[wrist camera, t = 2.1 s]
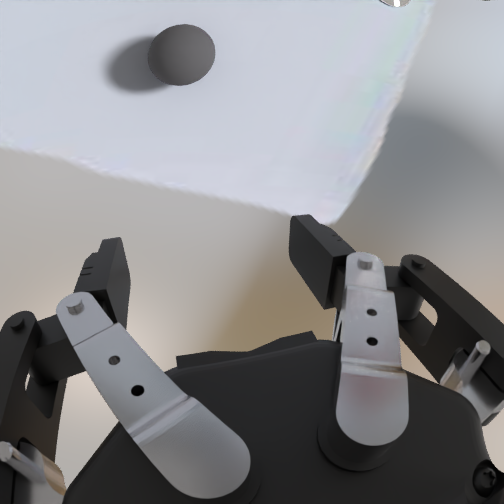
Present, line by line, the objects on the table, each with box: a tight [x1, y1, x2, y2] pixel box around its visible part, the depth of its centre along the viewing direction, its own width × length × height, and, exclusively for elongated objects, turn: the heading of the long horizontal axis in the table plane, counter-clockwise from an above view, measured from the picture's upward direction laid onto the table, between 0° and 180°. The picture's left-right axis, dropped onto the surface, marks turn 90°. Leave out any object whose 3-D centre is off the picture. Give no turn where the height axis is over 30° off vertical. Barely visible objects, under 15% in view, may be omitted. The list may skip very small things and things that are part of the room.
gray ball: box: [148, 24, 215, 86], centre depth 20 cm, size 6×6×6 cm
